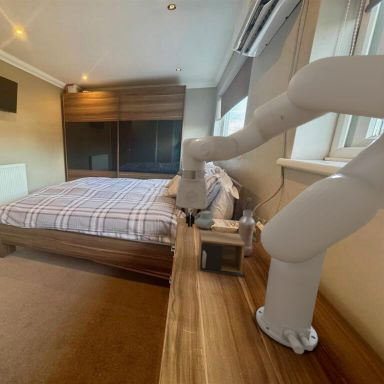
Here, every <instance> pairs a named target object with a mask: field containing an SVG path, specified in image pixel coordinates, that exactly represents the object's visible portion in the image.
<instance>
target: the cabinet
mask: <svg viewBox="0 0 384 384" xmlns="http://www.w3.org/2000/svg"><path fill="white" fill-rule="evenodd" d="M202 243H207V244H216V245H223V252H222V264H221V270H214V269H206V268H200V261H201V245H202ZM244 251H245V243H244V242H243V240H242V239H241V237H240V235H239V234H235V233H233V232H232V233H231V232H221V231H220V232H219V231H211V230H199V238H198V253H197V256H198V257H197V259H198V267H199V271H201V272H207V273H209V272H210V273H215V274H223V275H231V276H237V277H244V273H243V270H244V269H243V268H244V262H245V261H244V260H245V256H244Z"/></svg>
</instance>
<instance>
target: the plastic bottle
mask: <svg viewBox="0 0 384 384" xmlns="http://www.w3.org/2000/svg"><path fill="white" fill-rule="evenodd" d="M253 217H254V211H253V210H251V209H250V210H246V209H243V211H242V216H241V217H240V218H239V220H238V228H239V235H240V237H241V239H242V240H243V242H244V243H245V251H244V257H248V256H251V255H252V254H253V250H254V249H253V241H252V237H253V232H254V231H255V228H256V225H257V224H256V221H255V219H254V218H253Z"/></svg>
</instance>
